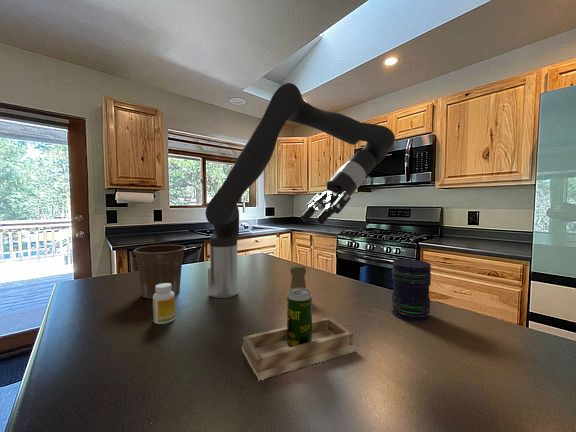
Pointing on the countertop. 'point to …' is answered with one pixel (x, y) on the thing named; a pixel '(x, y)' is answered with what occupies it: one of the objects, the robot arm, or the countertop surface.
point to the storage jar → (411, 290)
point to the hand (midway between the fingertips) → (310, 220)
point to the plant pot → (159, 267)
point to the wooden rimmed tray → (296, 348)
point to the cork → (298, 276)
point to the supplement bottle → (163, 304)
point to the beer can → (299, 316)
